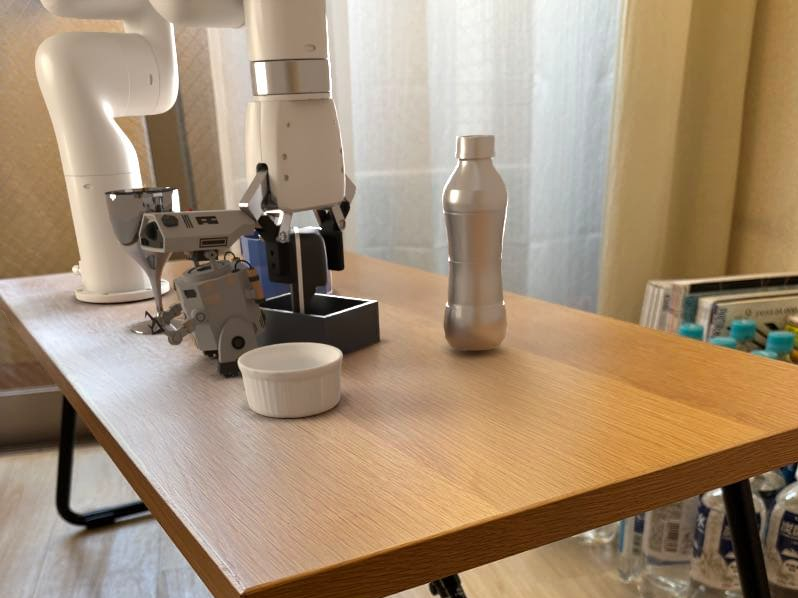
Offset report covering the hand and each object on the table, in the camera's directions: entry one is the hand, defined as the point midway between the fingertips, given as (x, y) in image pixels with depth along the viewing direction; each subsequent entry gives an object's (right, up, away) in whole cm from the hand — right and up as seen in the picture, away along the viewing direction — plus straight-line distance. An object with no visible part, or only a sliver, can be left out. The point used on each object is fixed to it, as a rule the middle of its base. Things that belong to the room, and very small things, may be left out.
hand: (307, 274), depth 93 cm
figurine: (-9, -10, -3) cm, 14 cm away
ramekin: (+1, -16, -15) cm, 22 cm away
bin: (0, -6, +3) cm, 7 cm away
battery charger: (0, -6, +3) cm, 7 cm away
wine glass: (-19, -2, +13) cm, 23 cm away
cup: (-5, +5, +26) cm, 27 cm away
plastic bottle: (+17, -8, -1) cm, 19 cm away
